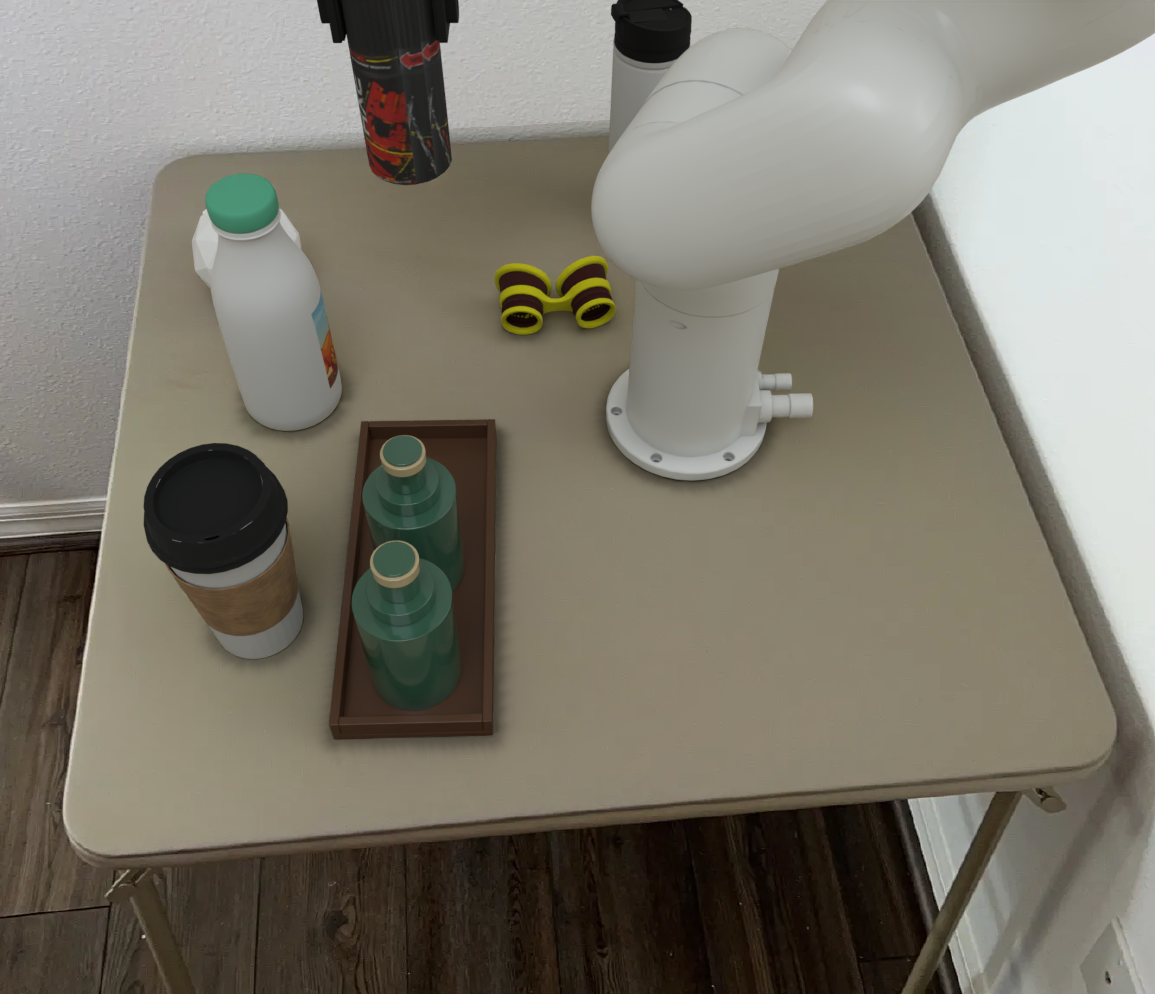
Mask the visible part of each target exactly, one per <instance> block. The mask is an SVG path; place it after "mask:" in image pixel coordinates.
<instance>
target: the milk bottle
mask: <svg viewBox="0 0 1155 994" xmlns="http://www.w3.org/2000/svg"><path fill="white" fill-rule="evenodd" d="M204 202H205V203H204V204H205V208H206V209H207V212H208V215H209V218H210V220H211V225H212V228H213V229H214V231H215V232H216V233H217V234H218V247H217V253H216V256H215V260H214V264H213V268H212V274H211V290H210V294H211V300H212V305H213V307H214V308H213V309H214V312H215V316H216V320H217V323H218V326H219V330H220V333H221V337H222V340H223V343H224V346H225V349H226V352H227V356H228V358H229V362H230V365H231V368H232V371H233V374H234V377H235V380H236V383H237V385H238V386H237V387H238V389H239V393H240V396H241V398H242V401H243V403H244V406H245V409H246V411H247V413H248V414H249V416H251V417H252V418H253V419H254V420H255V421H256V422H257V423H259V424H260V425H262V426H264V427H266V428H268V429H271V430H276V431H283V432H293V431H294V432H295V431H300V430H305V429H308V428H310V427H314V426H316V425H318V424H319V423H321V422H323V421H324V420H325V419H327V418H328V417H330V416H331V414H332V413H333V412H334V411H335V410H336V407H337V406H338V404H339V402H340V399H341V397H342V392H343V386H342V379H341V372H340V368H339V364H338V358H337V355H336V351H335V350H336V349H335V346H334V340H333V336H332V332H331V331H332V330H331V327H330V323H329V319H328V315H327V310H326V306H325V301H324V297H323V294H322V290H321V286H320V283H319V279H318V277H317V276H318V275H317V274H316V271H315V269H314V267H313V265H312V263H311V261H310V259H309V258H308V257H307V255H306V253H305V252H304V250H302V248H301V249H300V248H299V247H298V245H297V244H296V243H295V242H294V241H293V240H292V239H291V238H290V237H289V236H288V235H287V233H286V232H285V230H284V229H283V227H282V226H281V224H280V222H279V221H280V218H281V211H280V209H281V208H280V204H279V199H278V195H277V191H276V189H275V187H274V185H273V184H272V183H271V181H269V180H268V179H267V178H266V177H263V176H262V175H258V174H254V173H246V172H245V173H235V174H229V175H227V176H225V177H222V178H220V179H218V180H216V181H215V182H214V183H213V184H212V185H210V187H208V189H207V191H206V194H205V199H204Z"/></svg>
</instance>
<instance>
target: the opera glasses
mask: <svg viewBox="0 0 1155 994" xmlns="http://www.w3.org/2000/svg"><path fill="white" fill-rule="evenodd" d="M608 264H609V263H608V262H607V260H606V259H605V258H604V257H603V256H600V255H588V256H585V257H582V258H579V259H577V260H576V261H573V262H572V263H570V264H569V265H568V266H567V267H565V268H564V269H563V270H562V271H561V273H560V274H559V275H558V277H557V279H556V281H555V285H554V288H555V292H556V294H557V295H558V297H559V298H558V297H557V298H552V297H550V295H551V294H552V290H553V284H552V283H553V282H552V281H551V278H550V276H548V274H547V273H546V272H544V271H543V270H541V269H539V268H538V267H536V266H534V265H531V264H526V263H521V262H513V263H507V264H504V265H502V266H500V267H499V268H498V269H497V270H496V271H495V273H494V277H493V280H494V281H493V282H494V285H495V288H496V289H497V291H498V292H499V293H500V294H499V296H498V301H499V306H500V307H499V308H500V310H501V311H500V312H501V316H500V324H501V326H502V327H503V329H504V330H505V331H507V332H509V333H511V334H514V335H519V336H527V335H532V334H535V333H537V332H538V331H540V330H541V328H542V326H543V323H544V318H543V316H544V315H545V314H547V313H552V312H558V311H559V312H560V311H565V312H571V313H572V314H573V316H574V317H575V320H576V324H577V325H578V326H579V327H580V328H583V329H593V328H598V327H600V326H603V325H605V324H606V323H608V322H609V321H611V319H613V318H614V317H615V314H616V311H617V307H616V304H615V302H614V301H613V297H612V288H611V284H610V282H609V281H608V280H607V275H608V271H609V265H608Z"/></svg>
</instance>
